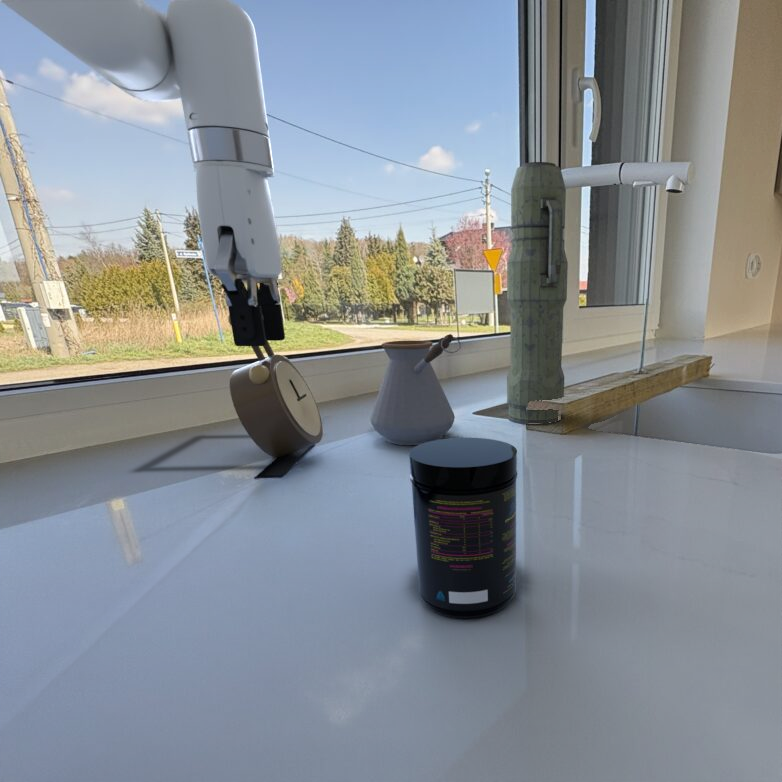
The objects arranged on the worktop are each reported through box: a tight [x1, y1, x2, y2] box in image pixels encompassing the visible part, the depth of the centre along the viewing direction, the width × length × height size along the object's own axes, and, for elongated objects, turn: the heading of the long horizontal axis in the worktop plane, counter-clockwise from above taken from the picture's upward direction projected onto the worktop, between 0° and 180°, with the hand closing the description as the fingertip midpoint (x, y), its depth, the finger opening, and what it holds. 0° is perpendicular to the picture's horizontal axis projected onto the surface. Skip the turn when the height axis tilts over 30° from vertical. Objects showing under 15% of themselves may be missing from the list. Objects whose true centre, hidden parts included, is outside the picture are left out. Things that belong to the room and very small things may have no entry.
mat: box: [253, 444, 316, 479], centre depth 69 cm, size 15×14×1 cm
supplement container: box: [408, 437, 518, 620], centre depth 37 cm, size 7×7×10 cm
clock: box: [227, 313, 324, 458], centre depth 66 cm, size 16×11×5 cm
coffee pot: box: [369, 333, 462, 446], centre depth 72 cm, size 21×12×15 cm, turn 28°
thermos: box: [506, 161, 569, 425], centre depth 84 cm, size 9×12×35 cm
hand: (261, 341), depth 64 cm, fingers closed on clock, 5 cm apart
